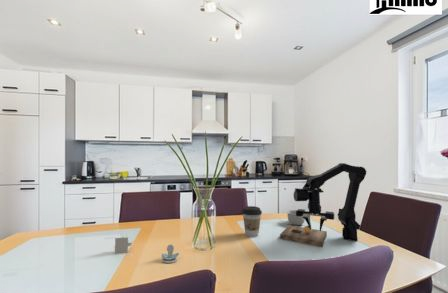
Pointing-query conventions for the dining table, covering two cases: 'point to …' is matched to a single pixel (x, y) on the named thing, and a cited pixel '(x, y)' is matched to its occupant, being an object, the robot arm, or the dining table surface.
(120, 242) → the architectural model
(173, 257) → the pacifier
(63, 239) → the dining table surface
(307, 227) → the ball
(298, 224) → the teacup
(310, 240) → the pocket board
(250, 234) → the coffee cup
